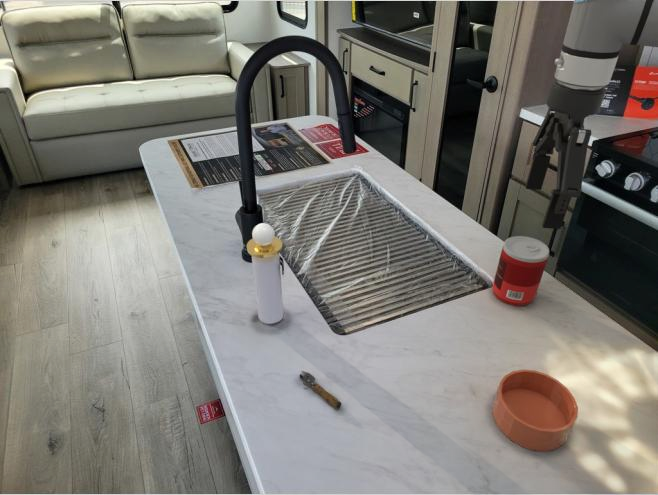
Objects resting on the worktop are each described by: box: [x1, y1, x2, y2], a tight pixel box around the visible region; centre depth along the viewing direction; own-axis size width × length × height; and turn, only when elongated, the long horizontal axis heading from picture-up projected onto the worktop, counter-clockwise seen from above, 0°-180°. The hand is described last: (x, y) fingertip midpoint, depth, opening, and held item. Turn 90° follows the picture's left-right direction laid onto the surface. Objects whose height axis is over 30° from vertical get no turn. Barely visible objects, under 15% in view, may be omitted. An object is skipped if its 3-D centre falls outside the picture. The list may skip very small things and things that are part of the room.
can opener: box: [299, 370, 342, 409], centre depth 72 cm, size 9×2×1 cm, turn 39°
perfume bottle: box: [246, 222, 285, 325], centre depth 81 cm, size 6×6×20 cm
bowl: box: [492, 369, 579, 452], centre depth 68 cm, size 10×10×4 cm
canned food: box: [492, 235, 550, 307], centre depth 89 cm, size 8×8×11 cm
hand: (541, 206), depth 83 cm, fingers open, 13 cm apart
